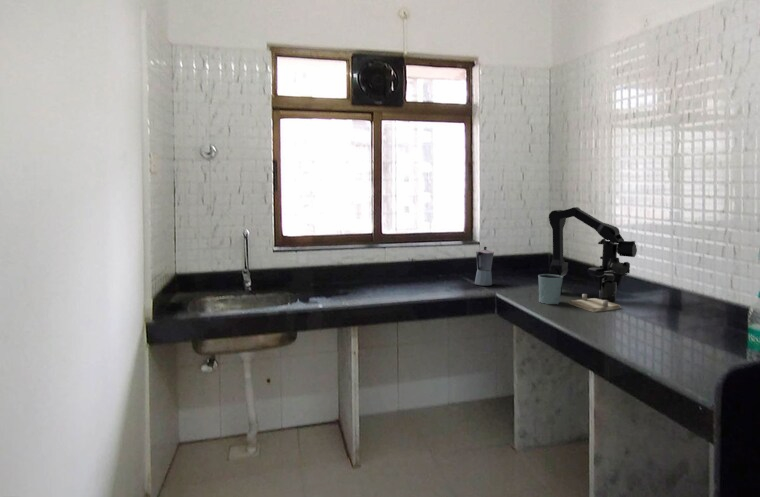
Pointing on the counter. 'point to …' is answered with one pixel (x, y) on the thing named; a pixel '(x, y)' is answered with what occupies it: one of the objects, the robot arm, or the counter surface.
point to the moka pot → (484, 267)
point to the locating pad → (594, 304)
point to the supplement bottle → (608, 288)
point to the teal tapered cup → (549, 288)
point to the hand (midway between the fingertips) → (607, 289)
